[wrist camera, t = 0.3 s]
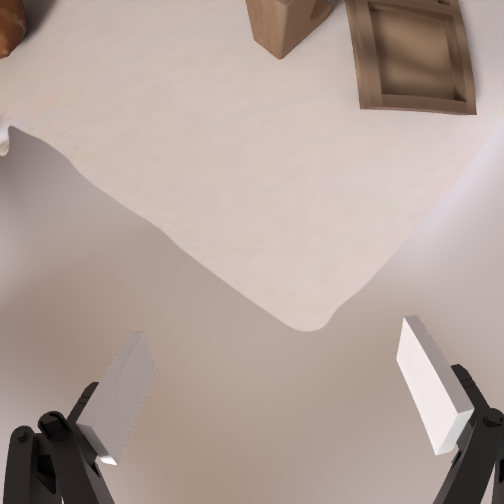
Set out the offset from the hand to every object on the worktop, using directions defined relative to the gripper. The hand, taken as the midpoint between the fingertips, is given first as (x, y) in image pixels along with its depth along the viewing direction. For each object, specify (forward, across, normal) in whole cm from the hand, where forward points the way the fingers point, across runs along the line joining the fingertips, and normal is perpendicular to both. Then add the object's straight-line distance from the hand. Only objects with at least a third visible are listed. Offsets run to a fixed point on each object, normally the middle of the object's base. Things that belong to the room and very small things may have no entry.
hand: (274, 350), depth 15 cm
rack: (+28, +19, +27) cm, 43 cm away
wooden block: (+28, +4, +24) cm, 37 cm away
